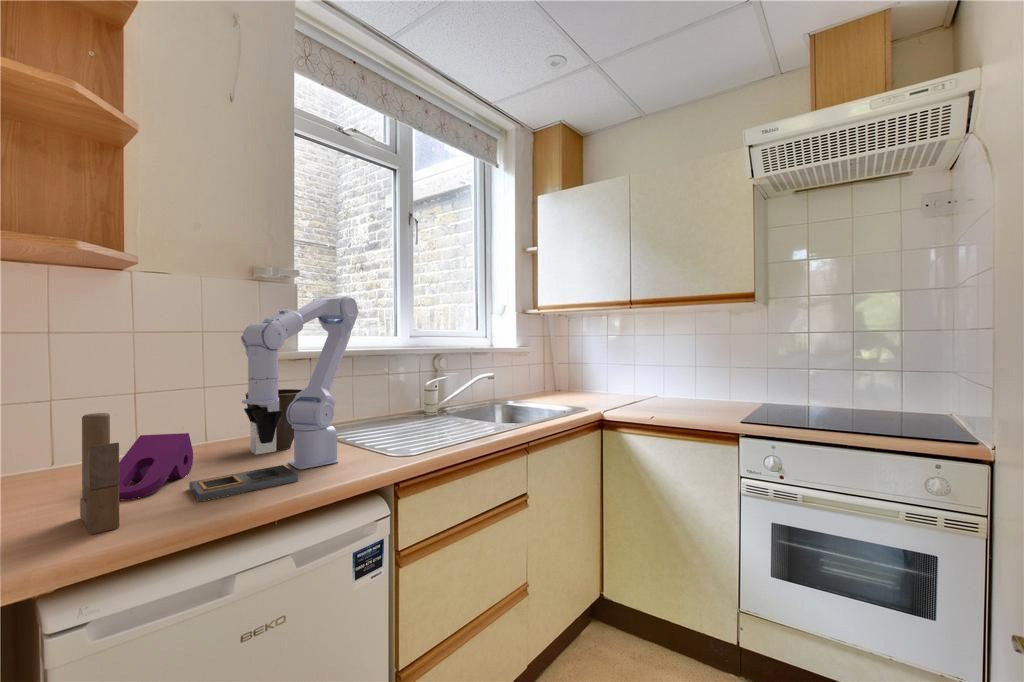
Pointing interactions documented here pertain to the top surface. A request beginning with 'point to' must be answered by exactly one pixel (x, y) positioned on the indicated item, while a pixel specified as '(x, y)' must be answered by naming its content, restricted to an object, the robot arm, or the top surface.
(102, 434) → the wooden block
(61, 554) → the top surface
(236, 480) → the grey holder tray
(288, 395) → the plant pot
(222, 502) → the top surface
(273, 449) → the metal block with hole
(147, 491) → the mounting bracket
